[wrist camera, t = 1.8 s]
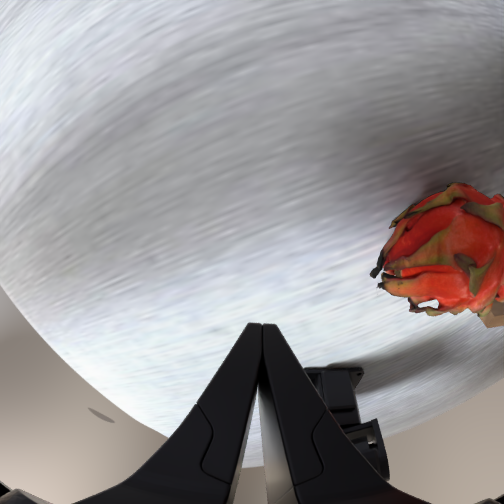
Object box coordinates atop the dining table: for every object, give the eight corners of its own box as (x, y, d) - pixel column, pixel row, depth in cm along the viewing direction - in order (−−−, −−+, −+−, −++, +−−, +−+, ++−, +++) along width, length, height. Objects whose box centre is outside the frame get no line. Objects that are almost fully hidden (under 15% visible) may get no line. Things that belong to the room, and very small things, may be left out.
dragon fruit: (480, 216, 17) (354, 227, 21) (522, 152, 10) (359, 152, 13) (503, 314, 14) (366, 339, 17) (569, 281, 7) (390, 320, 10)
